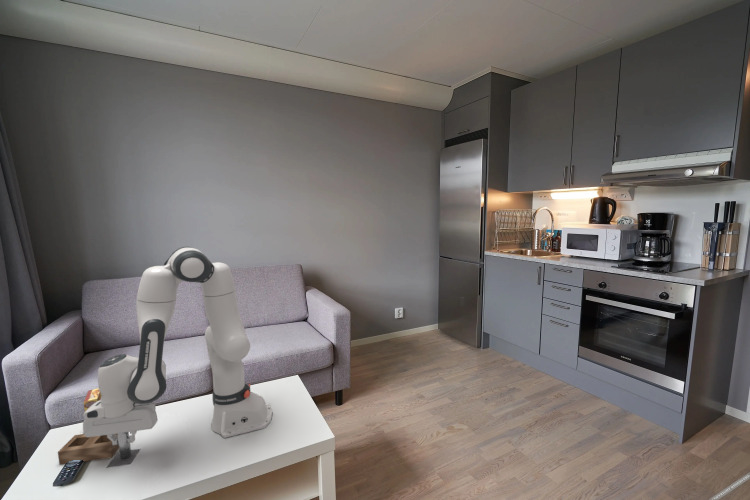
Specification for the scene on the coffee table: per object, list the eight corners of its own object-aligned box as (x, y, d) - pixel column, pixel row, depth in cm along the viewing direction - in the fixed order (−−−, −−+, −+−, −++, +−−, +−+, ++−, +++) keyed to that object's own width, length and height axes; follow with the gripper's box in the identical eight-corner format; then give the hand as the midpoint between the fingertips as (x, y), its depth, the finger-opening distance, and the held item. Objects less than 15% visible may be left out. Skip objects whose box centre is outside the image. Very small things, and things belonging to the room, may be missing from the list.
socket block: (125, 441, 116) (123, 429, 115) (112, 458, 108) (110, 444, 108) (76, 448, 113) (74, 435, 112) (59, 465, 105) (57, 451, 104)
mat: (141, 449, 112) (140, 448, 112) (130, 465, 105) (130, 464, 105) (118, 452, 111) (118, 451, 111) (105, 468, 104) (105, 467, 104)
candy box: (103, 436, 119) (98, 398, 117) (87, 441, 116) (82, 401, 114) (106, 423, 126) (102, 386, 124) (92, 427, 124) (87, 390, 122)
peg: (133, 451, 110) (129, 424, 109) (128, 457, 107) (124, 430, 106) (123, 452, 110) (119, 425, 108) (118, 459, 107) (114, 431, 105)
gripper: (158, 395, 111) (162, 431, 113) (90, 402, 107) (95, 440, 109) (150, 406, 105) (154, 444, 107) (76, 414, 101) (82, 454, 103)
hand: (124, 442), depth 108 cm, fingers closed on peg, 3 cm apart
